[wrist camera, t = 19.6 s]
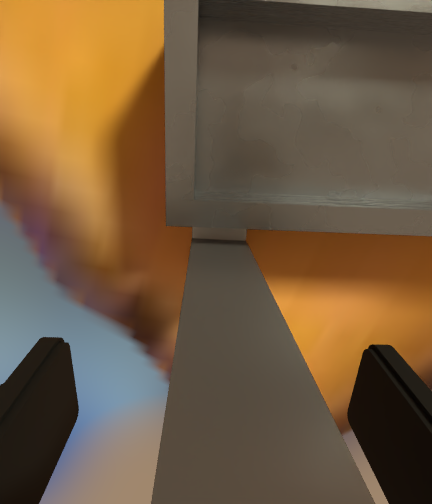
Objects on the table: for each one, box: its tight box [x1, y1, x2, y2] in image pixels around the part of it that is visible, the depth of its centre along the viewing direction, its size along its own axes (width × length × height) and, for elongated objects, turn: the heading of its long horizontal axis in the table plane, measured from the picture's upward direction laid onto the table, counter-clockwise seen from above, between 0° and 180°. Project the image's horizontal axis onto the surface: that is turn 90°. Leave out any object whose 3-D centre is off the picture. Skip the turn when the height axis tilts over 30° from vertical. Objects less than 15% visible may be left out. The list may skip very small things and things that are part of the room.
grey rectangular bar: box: [151, 227, 375, 504], centre depth 10 cm, size 2×4×16 cm, turn 177°
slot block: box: [164, 0, 432, 236], centre depth 13 cm, size 18×8×6 cm, turn 87°
